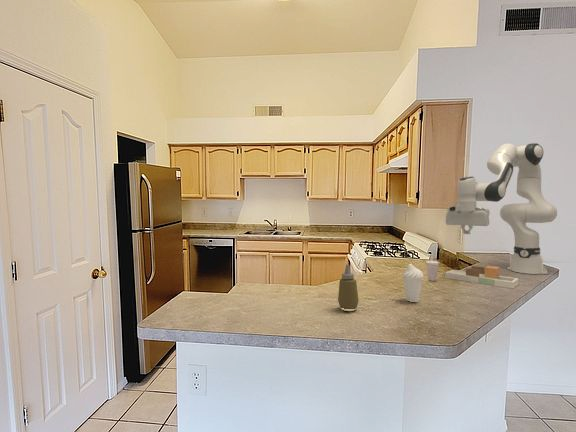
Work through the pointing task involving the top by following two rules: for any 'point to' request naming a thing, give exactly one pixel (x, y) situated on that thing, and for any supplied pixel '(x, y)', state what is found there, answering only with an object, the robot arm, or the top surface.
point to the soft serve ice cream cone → (412, 283)
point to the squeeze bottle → (348, 290)
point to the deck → (481, 277)
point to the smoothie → (432, 269)
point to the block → (492, 272)
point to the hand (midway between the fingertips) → (466, 233)
